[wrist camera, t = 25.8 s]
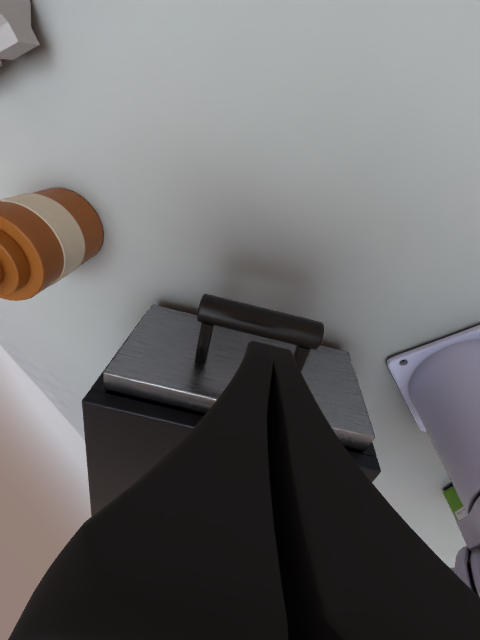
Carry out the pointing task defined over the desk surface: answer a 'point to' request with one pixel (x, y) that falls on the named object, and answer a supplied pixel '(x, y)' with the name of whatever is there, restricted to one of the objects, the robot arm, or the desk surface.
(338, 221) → the desk surface
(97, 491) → the cabinet
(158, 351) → the drawer
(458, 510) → the ink box
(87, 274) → the desk surface
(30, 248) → the bottle
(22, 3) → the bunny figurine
